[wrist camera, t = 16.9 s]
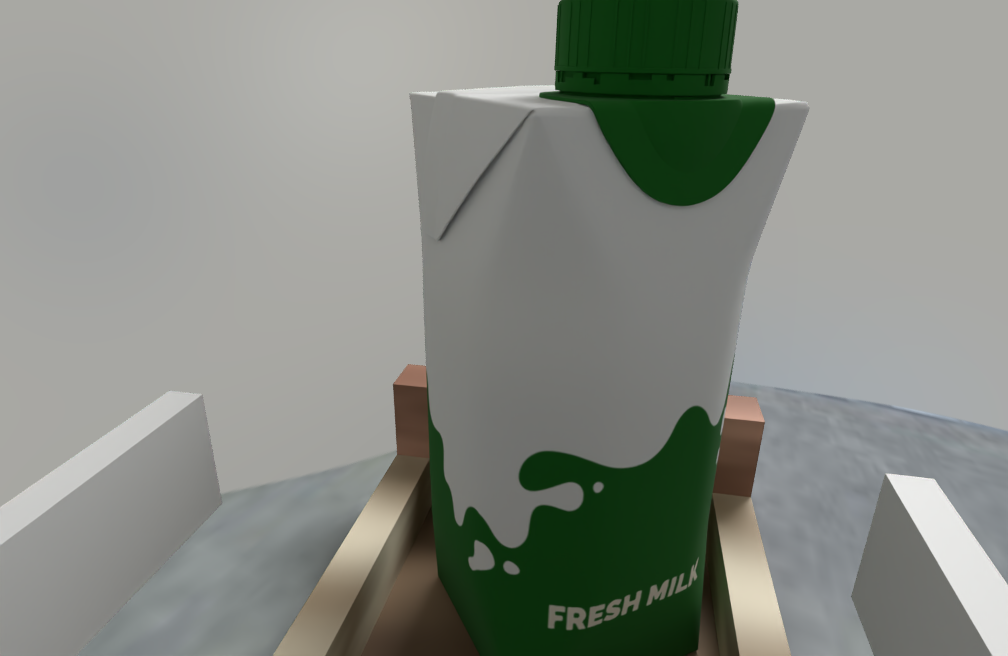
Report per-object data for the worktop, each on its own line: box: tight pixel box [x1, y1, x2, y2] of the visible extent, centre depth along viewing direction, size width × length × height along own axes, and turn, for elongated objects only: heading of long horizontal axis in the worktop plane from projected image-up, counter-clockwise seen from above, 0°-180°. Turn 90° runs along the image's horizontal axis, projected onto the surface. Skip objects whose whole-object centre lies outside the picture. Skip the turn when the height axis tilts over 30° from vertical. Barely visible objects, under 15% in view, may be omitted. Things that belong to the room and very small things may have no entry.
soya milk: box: [410, 0, 809, 656], centre depth 20 cm, size 9×9×20 cm
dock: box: [273, 364, 791, 656], centre depth 20 cm, size 21×16×7 cm
